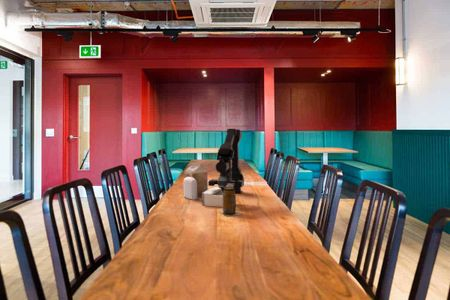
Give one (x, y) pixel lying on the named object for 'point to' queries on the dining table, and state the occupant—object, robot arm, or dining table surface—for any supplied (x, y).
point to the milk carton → (198, 177)
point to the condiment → (229, 202)
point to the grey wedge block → (212, 197)
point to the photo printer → (190, 188)
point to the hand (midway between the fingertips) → (226, 198)
